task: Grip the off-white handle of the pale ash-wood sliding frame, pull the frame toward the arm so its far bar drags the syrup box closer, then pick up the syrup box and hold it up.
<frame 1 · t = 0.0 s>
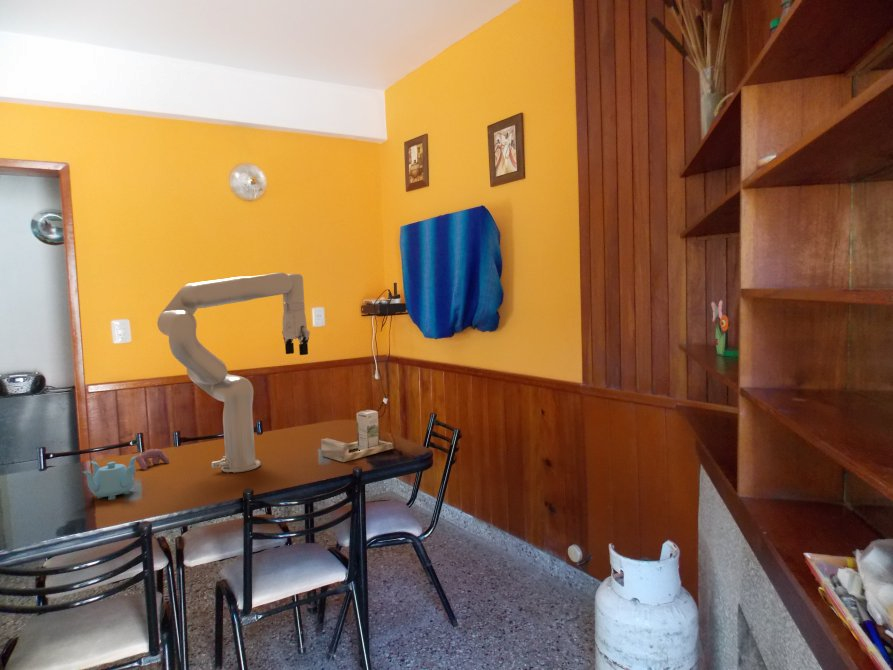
hand: (296, 354, 211), 37 cm above the table, tool pointing down, fingers open, 9 cm apart
teapot: (114, 496, 172), on the table
syrup box: (368, 450, 212), resting in frame
frame: (357, 444, 209), point 3 cm above the table, slide at 0.0 cm
pink animal figurine: (152, 466, 203), on the table
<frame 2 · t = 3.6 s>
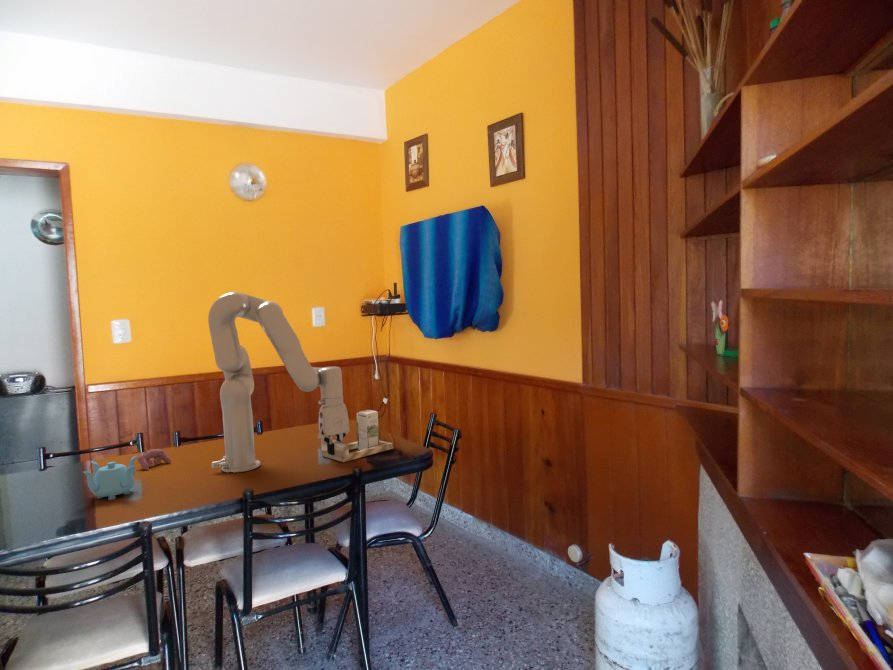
hand: (335, 453, 202), 2 cm above the table, tool pointing down, fingers closed on frame, 2 cm apart
frame: (357, 444, 209), point 3 cm above the table, slide at 0.0 cm, touching gripper
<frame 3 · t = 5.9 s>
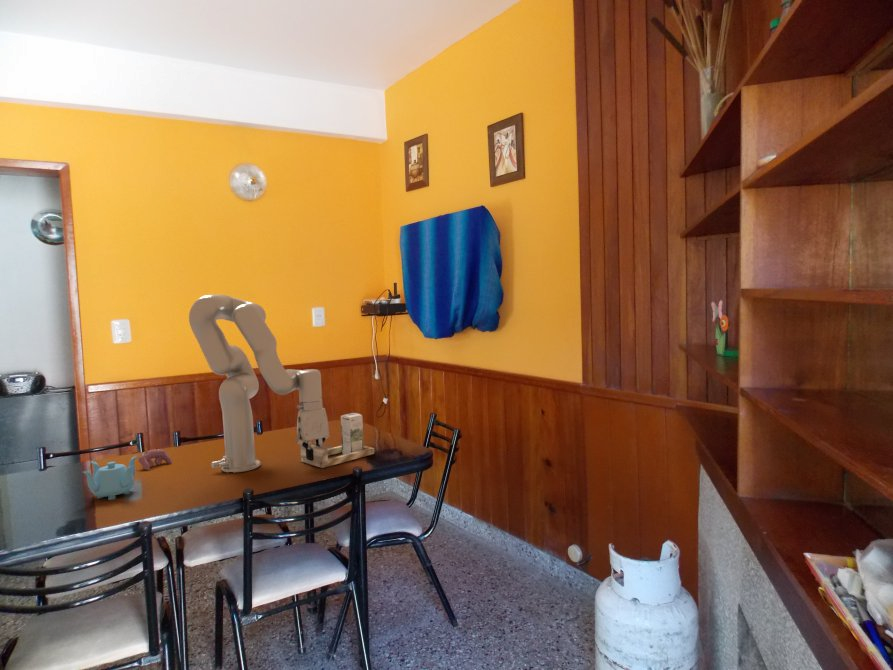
hand: (314, 458, 196), 2 cm above the table, tool pointing down, fingers closed on frame, 2 cm apart
syrup box: (353, 454, 208), resting in frame
frame: (337, 449, 203), point 3 cm above the table, slide at 8.5 cm, touching gripper, syrup box
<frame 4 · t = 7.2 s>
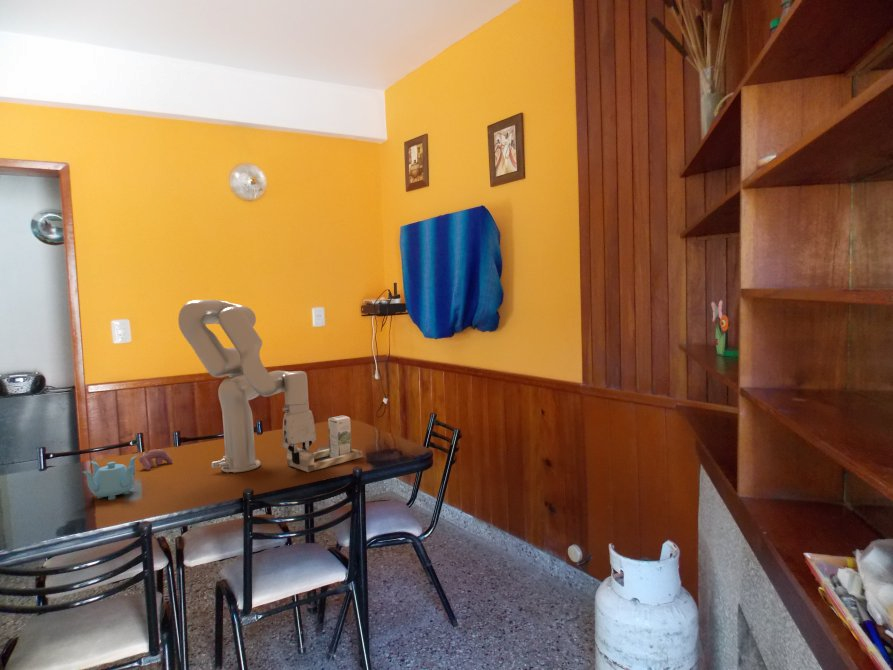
hand: (300, 462, 192), 2 cm above the table, tool pointing down, fingers closed on frame, 2 cm apart
syrup box: (341, 457, 204), resting in frame
frame: (325, 452, 199), point 3 cm above the table, slide at 13.8 cm, touching gripper, syrup box
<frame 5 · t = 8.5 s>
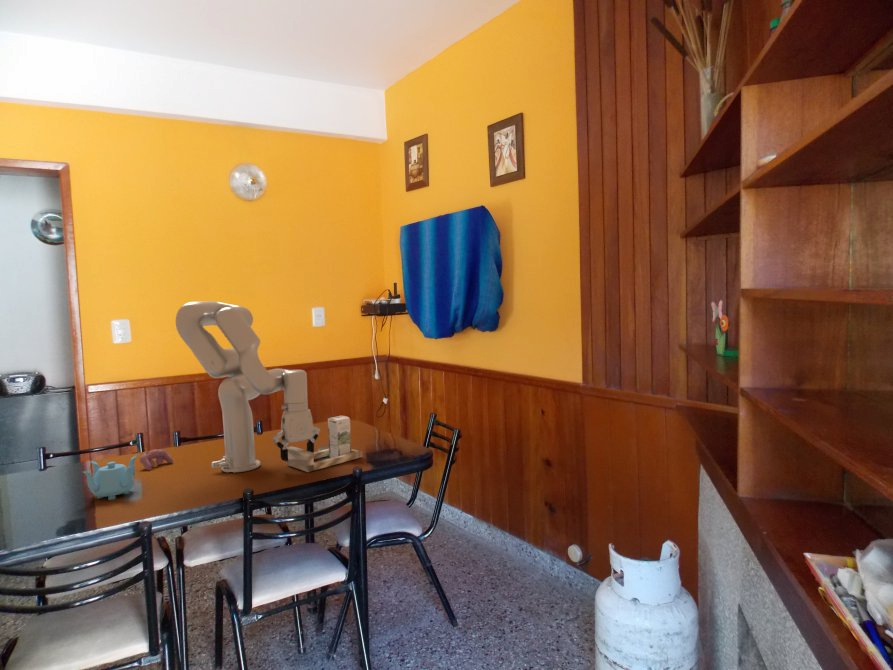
hand: (297, 457, 192), 4 cm above the table, tool pointing down, fingers open, 9 cm apart
syrup box: (340, 458, 204), resting in frame
frame: (324, 452, 199), point 3 cm above the table, slide at 14.0 cm
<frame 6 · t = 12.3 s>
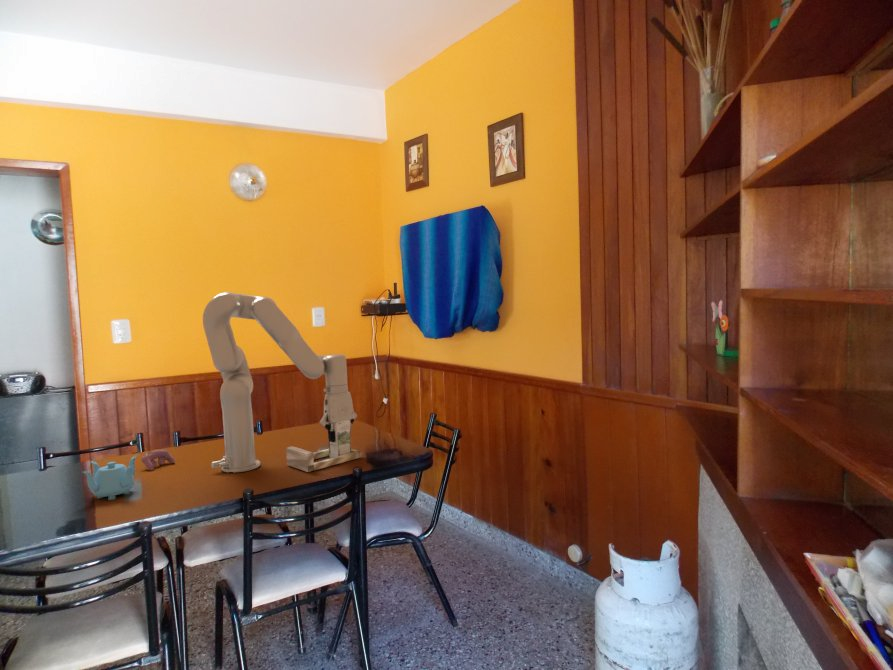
hand: (339, 439, 203), 7 cm above the table, tool pointing down, fingers closed on syrup box, 5 cm apart
syrup box: (340, 457, 204), resting in frame, touching gripper
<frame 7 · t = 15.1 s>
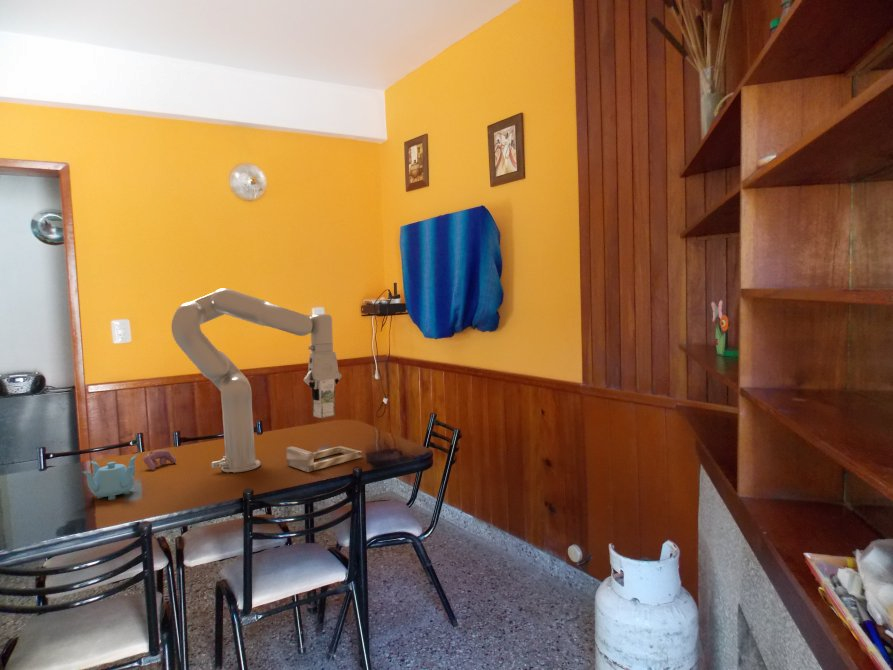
hand: (323, 398, 205), 21 cm above the table, tool pointing down, fingers closed on syrup box, 5 cm apart
syrup box: (324, 416, 206), point 14 cm above the table, touching gripper
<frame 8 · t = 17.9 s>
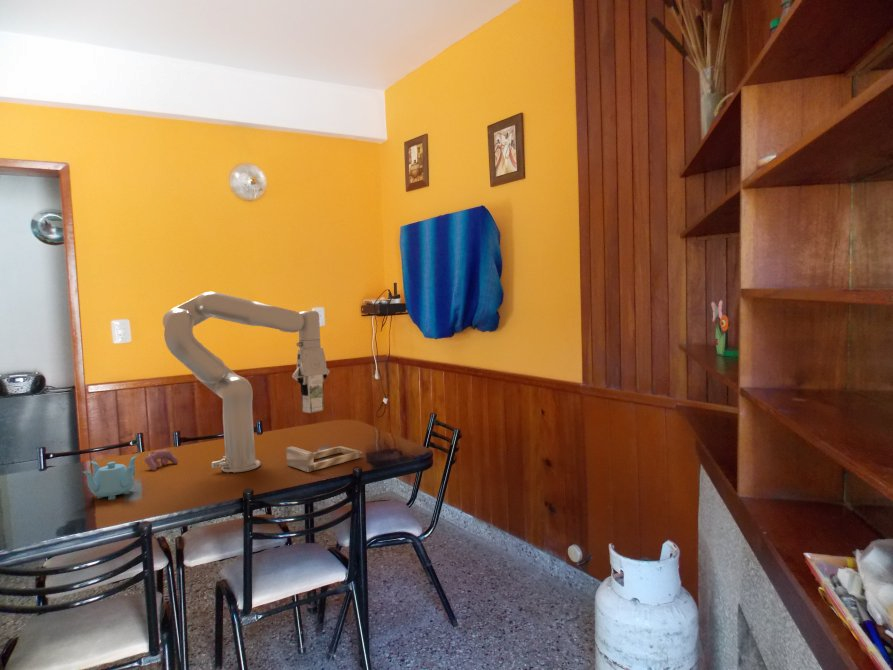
hand: (312, 393, 209), 22 cm above the table, tool pointing down, fingers closed on syrup box, 5 cm apart
syrup box: (313, 411, 209), point 16 cm above the table, touching gripper
at the end: frame slide at 14.0 cm; the gripper is holding syrup box; syrup box point 15.5 cm above the table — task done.
